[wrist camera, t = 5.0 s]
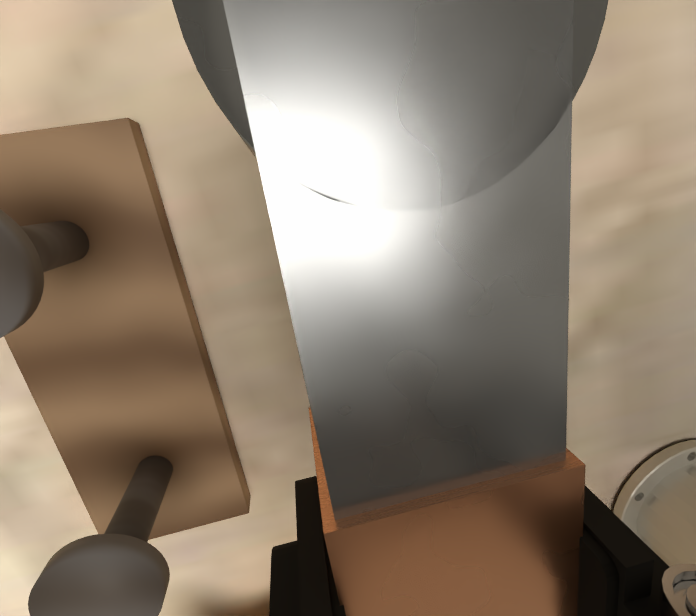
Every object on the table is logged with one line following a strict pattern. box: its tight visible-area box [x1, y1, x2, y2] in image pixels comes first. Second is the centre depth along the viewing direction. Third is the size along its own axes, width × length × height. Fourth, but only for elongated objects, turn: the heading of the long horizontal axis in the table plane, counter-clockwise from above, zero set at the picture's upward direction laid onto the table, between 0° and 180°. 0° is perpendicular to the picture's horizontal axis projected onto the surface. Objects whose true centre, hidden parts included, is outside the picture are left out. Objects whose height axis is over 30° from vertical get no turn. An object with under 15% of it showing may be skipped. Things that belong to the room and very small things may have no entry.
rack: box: [0, 118, 250, 616], centre depth 18 cm, size 24×9×10 cm, turn 9°
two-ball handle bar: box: [172, 0, 608, 616], centre depth 9 cm, size 25×5×4 cm, turn 9°
